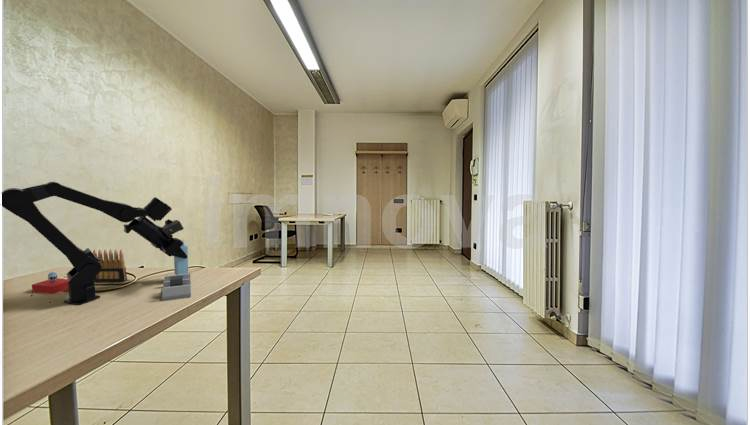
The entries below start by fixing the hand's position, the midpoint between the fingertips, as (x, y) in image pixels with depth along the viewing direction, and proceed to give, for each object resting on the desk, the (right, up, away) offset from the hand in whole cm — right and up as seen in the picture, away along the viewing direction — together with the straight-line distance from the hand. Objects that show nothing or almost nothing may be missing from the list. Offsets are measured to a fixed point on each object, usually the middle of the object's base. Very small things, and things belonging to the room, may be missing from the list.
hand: (185, 256), depth 127 cm
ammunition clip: (-26, -9, -3) cm, 28 cm away
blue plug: (-1, -7, 0) cm, 7 cm away
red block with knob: (-38, -10, -13) cm, 41 cm away
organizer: (+3, -11, -11) cm, 16 cm away
